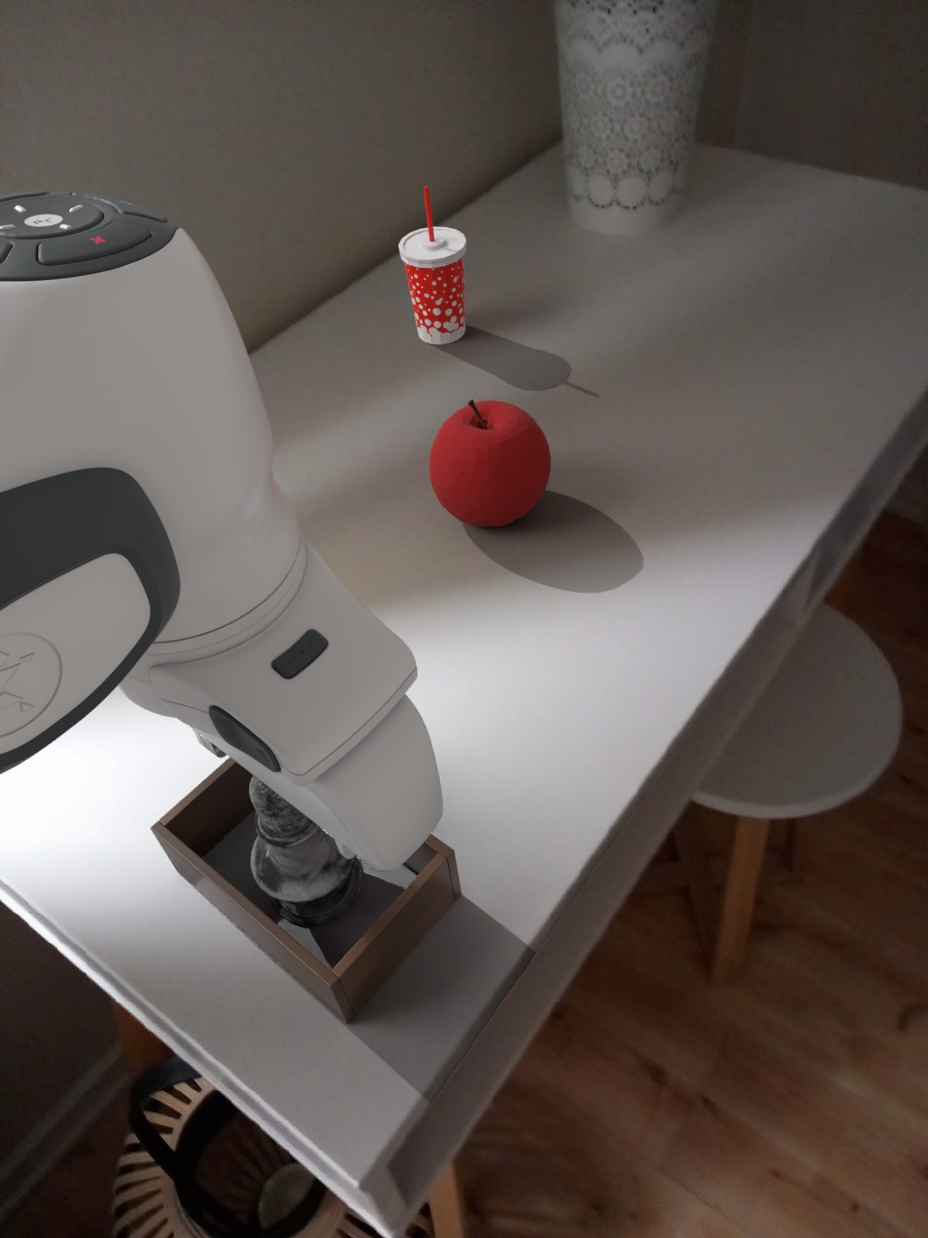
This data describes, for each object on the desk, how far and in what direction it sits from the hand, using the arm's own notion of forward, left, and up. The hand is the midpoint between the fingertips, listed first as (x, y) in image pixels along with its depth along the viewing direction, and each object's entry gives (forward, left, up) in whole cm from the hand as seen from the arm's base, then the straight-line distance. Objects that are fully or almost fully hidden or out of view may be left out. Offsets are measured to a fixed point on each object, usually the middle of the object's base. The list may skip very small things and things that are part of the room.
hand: (284, 790), depth 49 cm
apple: (+31, +12, -10) cm, 34 cm away
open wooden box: (0, 0, -10) cm, 10 cm away
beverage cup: (+48, +32, -10) cm, 58 cm away
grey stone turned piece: (0, 0, -10) cm, 10 cm away
